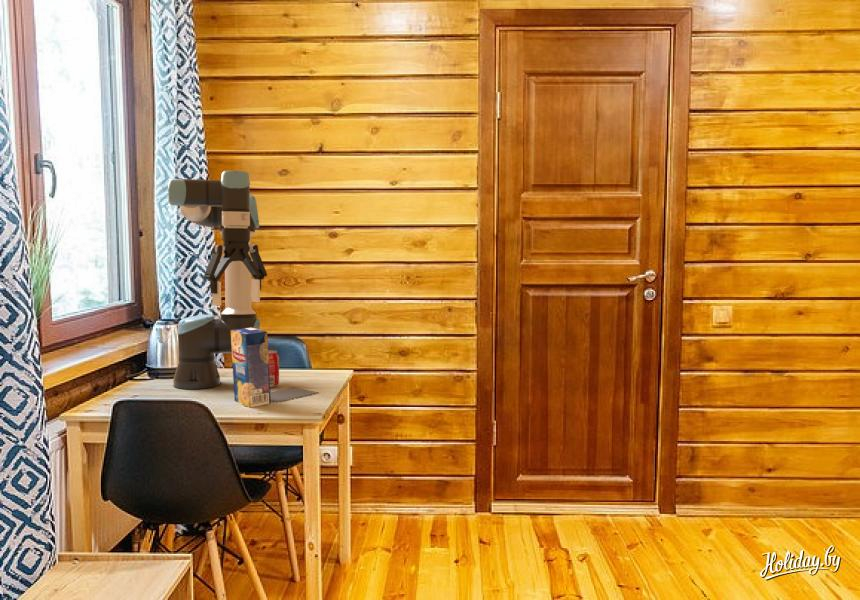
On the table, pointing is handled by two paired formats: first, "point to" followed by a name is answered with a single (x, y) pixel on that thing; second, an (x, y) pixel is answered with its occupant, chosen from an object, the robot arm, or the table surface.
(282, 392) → the mat
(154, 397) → the table surface
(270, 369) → the soda can
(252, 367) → the cardboard food box
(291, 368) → the table surface
